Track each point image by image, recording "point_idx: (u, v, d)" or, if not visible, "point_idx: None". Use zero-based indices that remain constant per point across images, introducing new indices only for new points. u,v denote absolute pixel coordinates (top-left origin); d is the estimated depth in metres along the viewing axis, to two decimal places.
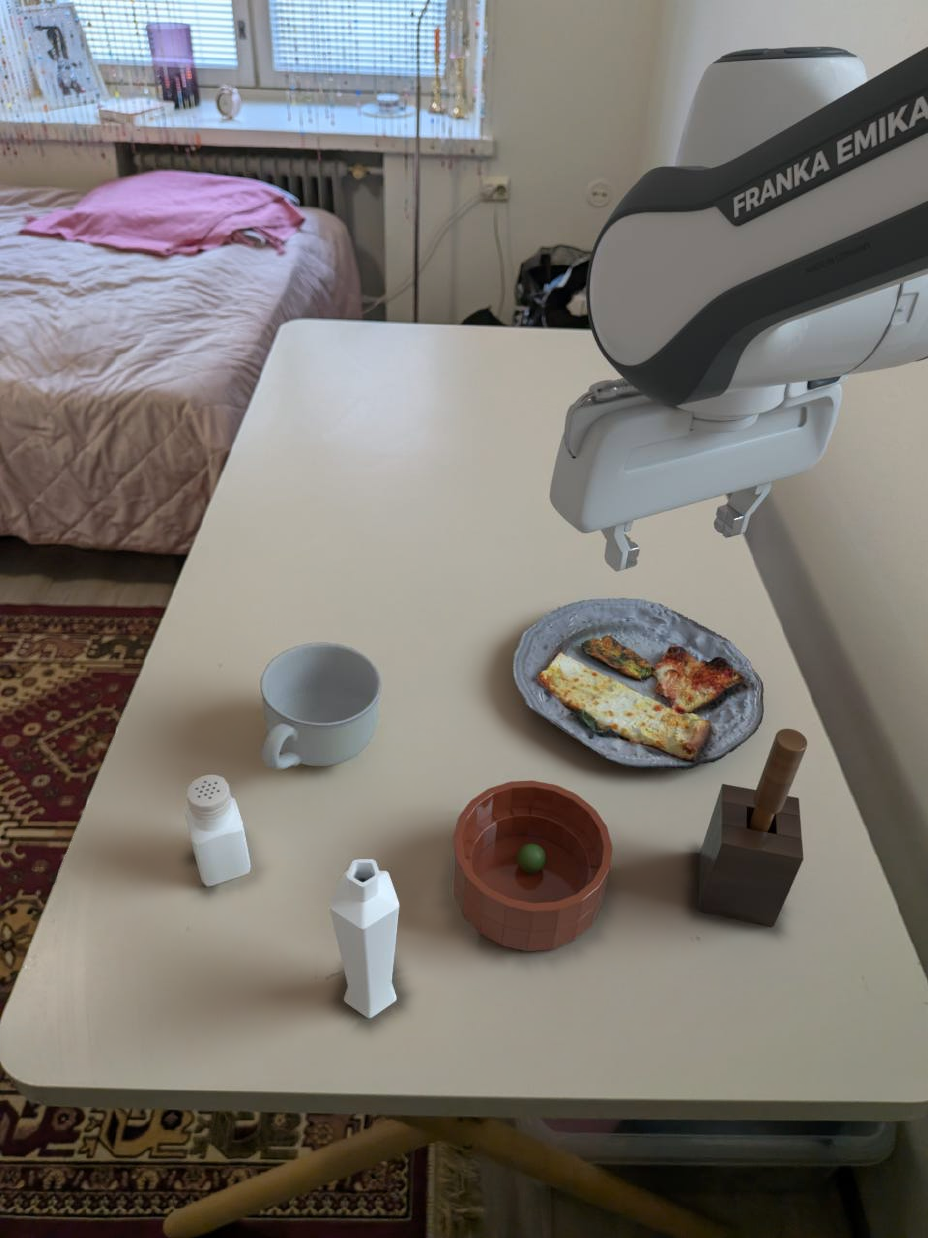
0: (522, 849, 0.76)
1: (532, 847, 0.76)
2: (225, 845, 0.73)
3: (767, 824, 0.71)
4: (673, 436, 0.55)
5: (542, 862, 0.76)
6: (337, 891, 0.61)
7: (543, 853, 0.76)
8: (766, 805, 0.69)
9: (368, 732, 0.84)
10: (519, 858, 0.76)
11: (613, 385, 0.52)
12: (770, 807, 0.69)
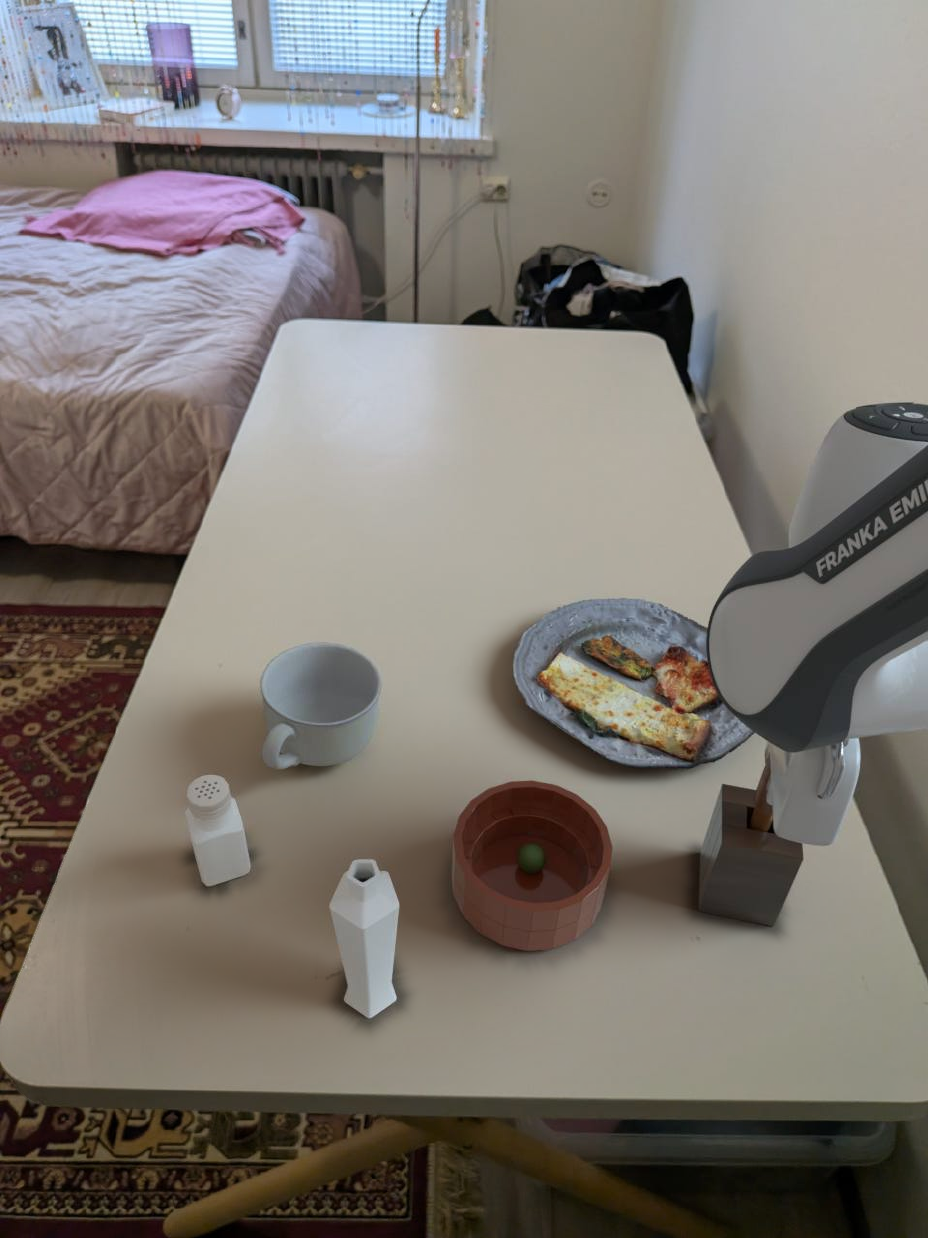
0: (522, 849, 0.76)
1: (532, 847, 0.76)
2: (225, 845, 0.73)
3: (767, 824, 0.71)
4: None
5: (542, 862, 0.76)
6: (337, 891, 0.61)
7: (543, 853, 0.76)
8: (766, 805, 0.69)
9: (368, 732, 0.84)
10: (519, 858, 0.76)
11: None
12: (770, 807, 0.69)
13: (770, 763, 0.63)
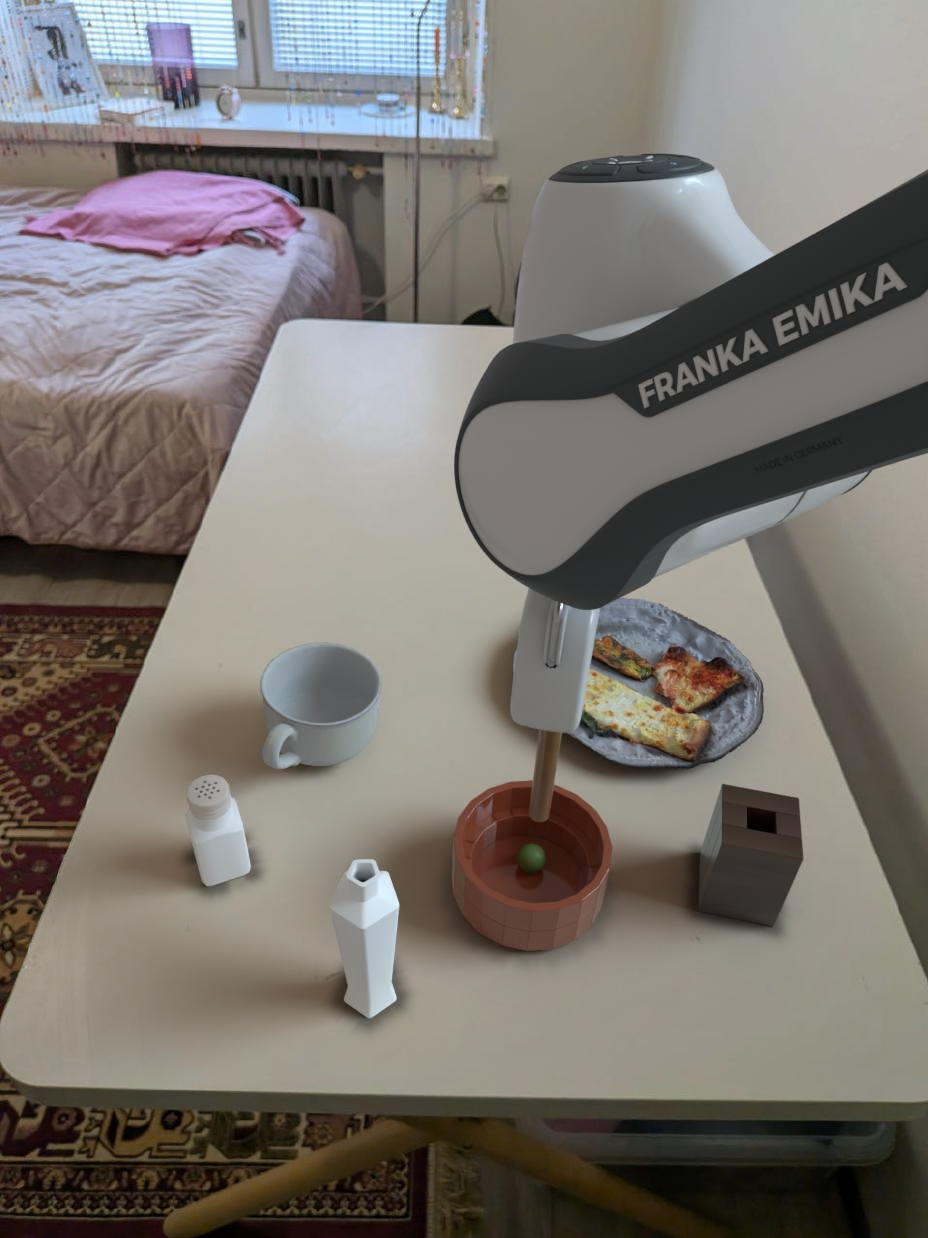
0: (522, 849, 0.76)
1: (532, 847, 0.76)
2: (225, 844, 0.73)
3: None
4: None
5: (542, 862, 0.76)
6: (337, 891, 0.61)
7: (543, 853, 0.76)
8: None
9: (368, 732, 0.84)
10: (519, 858, 0.76)
11: None
12: None
13: None
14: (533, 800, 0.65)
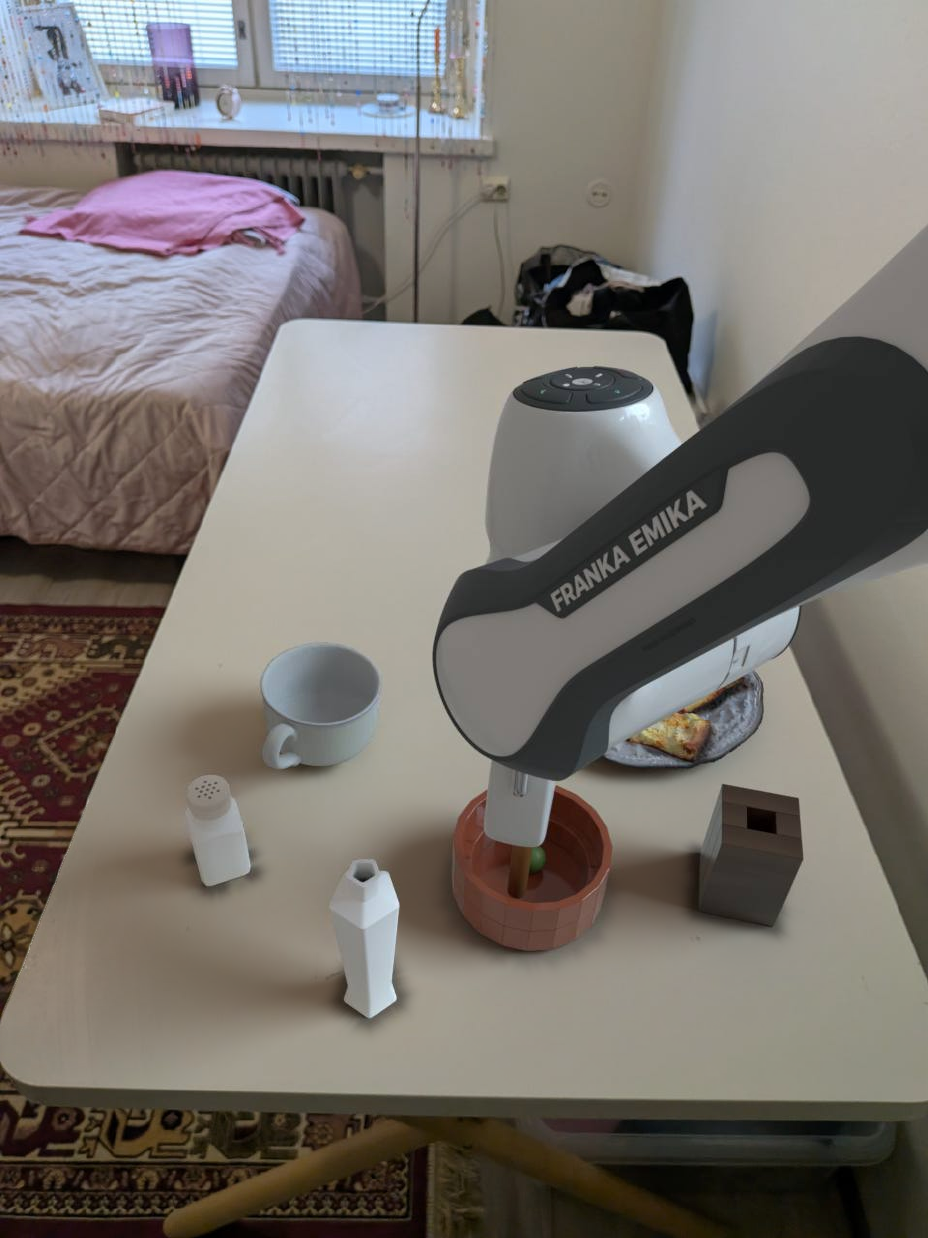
0: None
1: (532, 847, 0.76)
2: (225, 844, 0.73)
3: None
4: None
5: (542, 862, 0.76)
6: (337, 891, 0.61)
7: (543, 853, 0.76)
8: None
9: (368, 732, 0.84)
10: None
11: None
12: None
13: None
14: (511, 880, 0.72)
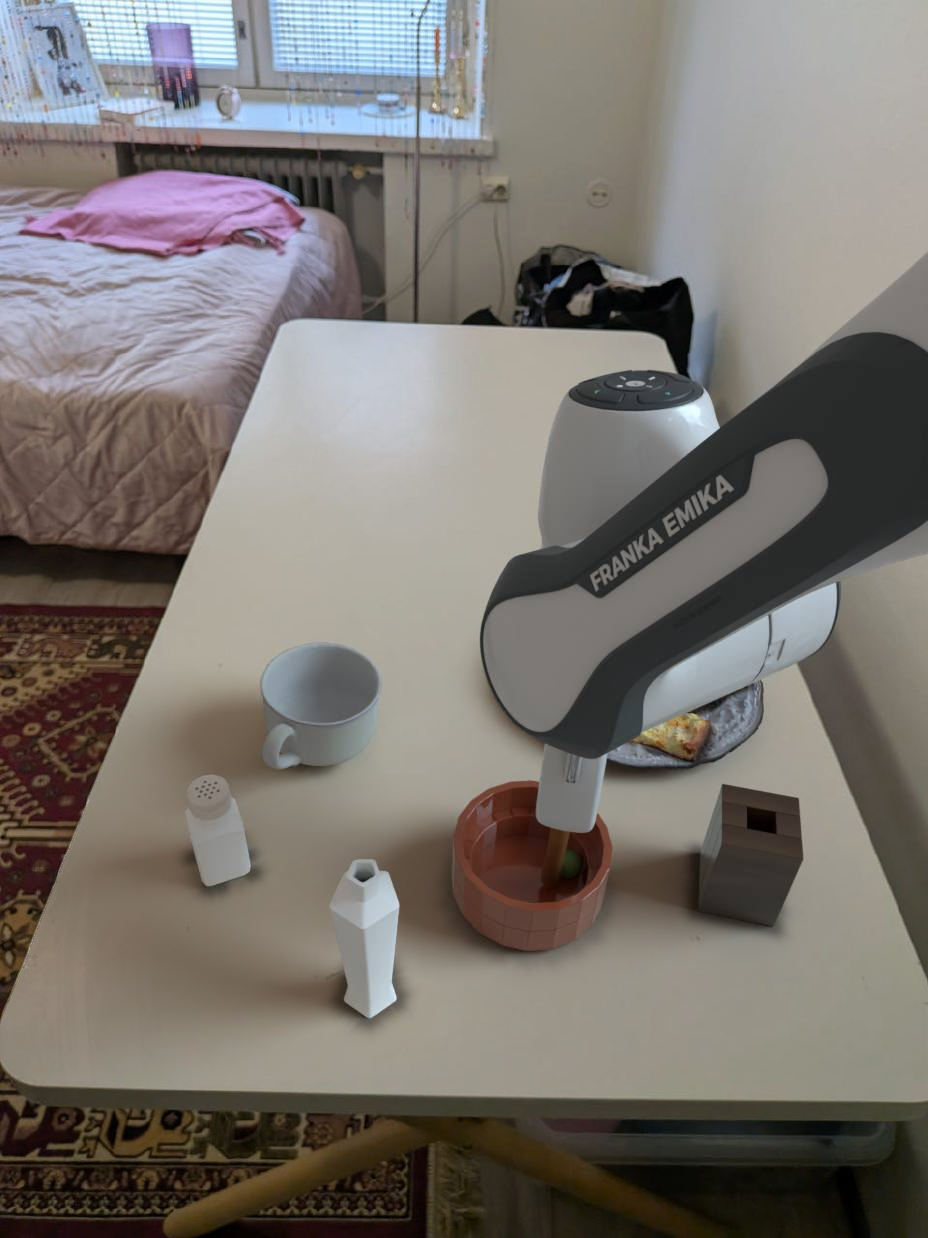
0: None
1: None
2: (225, 844, 0.73)
3: None
4: None
5: None
6: (337, 891, 0.61)
7: None
8: None
9: (368, 732, 0.84)
10: None
11: None
12: None
13: None
14: (545, 869, 0.74)
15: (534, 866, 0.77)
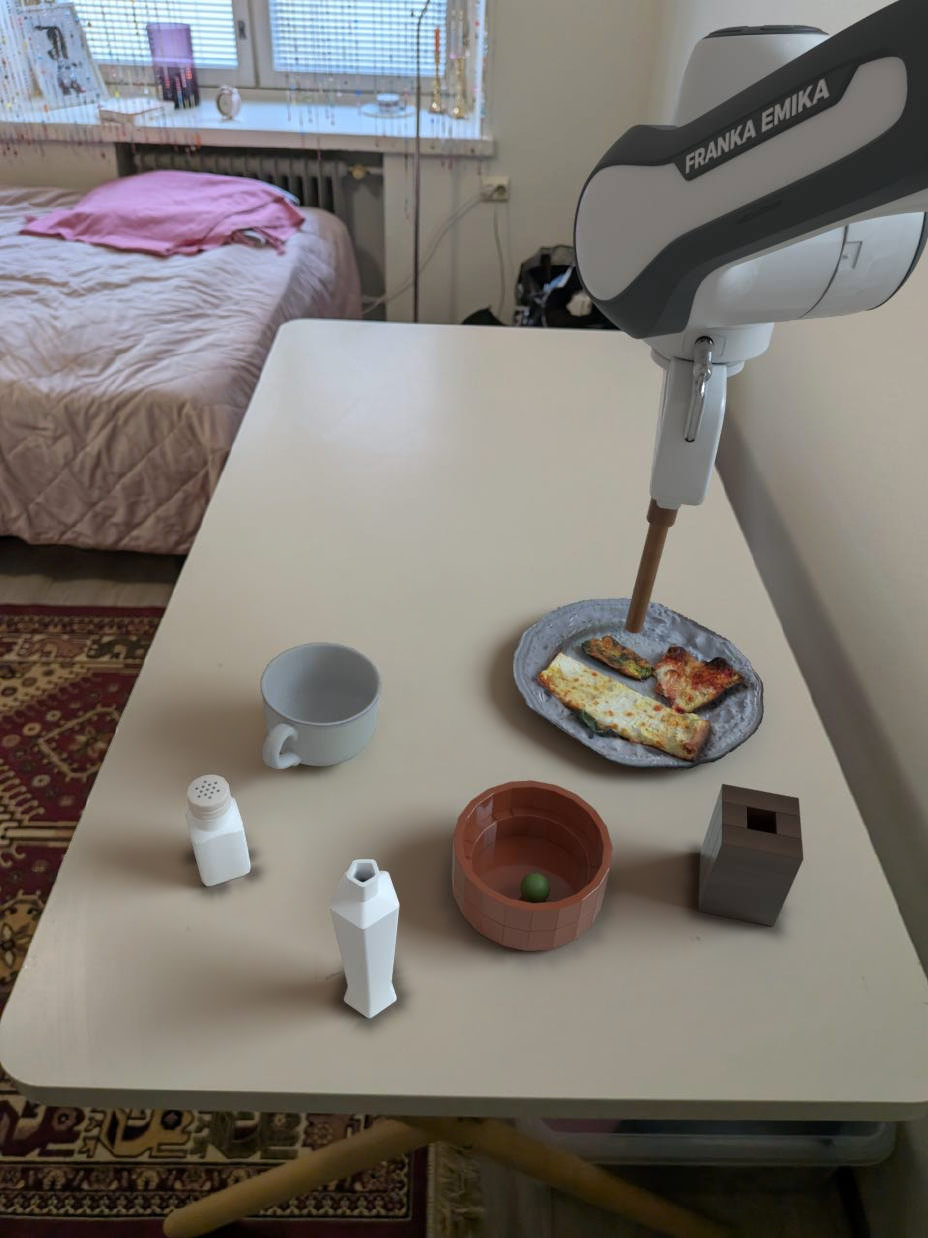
0: (523, 896, 0.74)
1: (525, 888, 0.74)
2: (225, 844, 0.73)
3: (660, 543, 0.72)
4: None
5: (542, 884, 0.73)
6: (337, 891, 0.61)
7: (534, 879, 0.74)
8: (657, 517, 0.70)
9: (368, 732, 0.84)
10: (530, 902, 0.74)
11: (710, 361, 0.55)
12: (661, 519, 0.70)
13: None
14: (631, 612, 0.77)
15: (534, 866, 0.77)
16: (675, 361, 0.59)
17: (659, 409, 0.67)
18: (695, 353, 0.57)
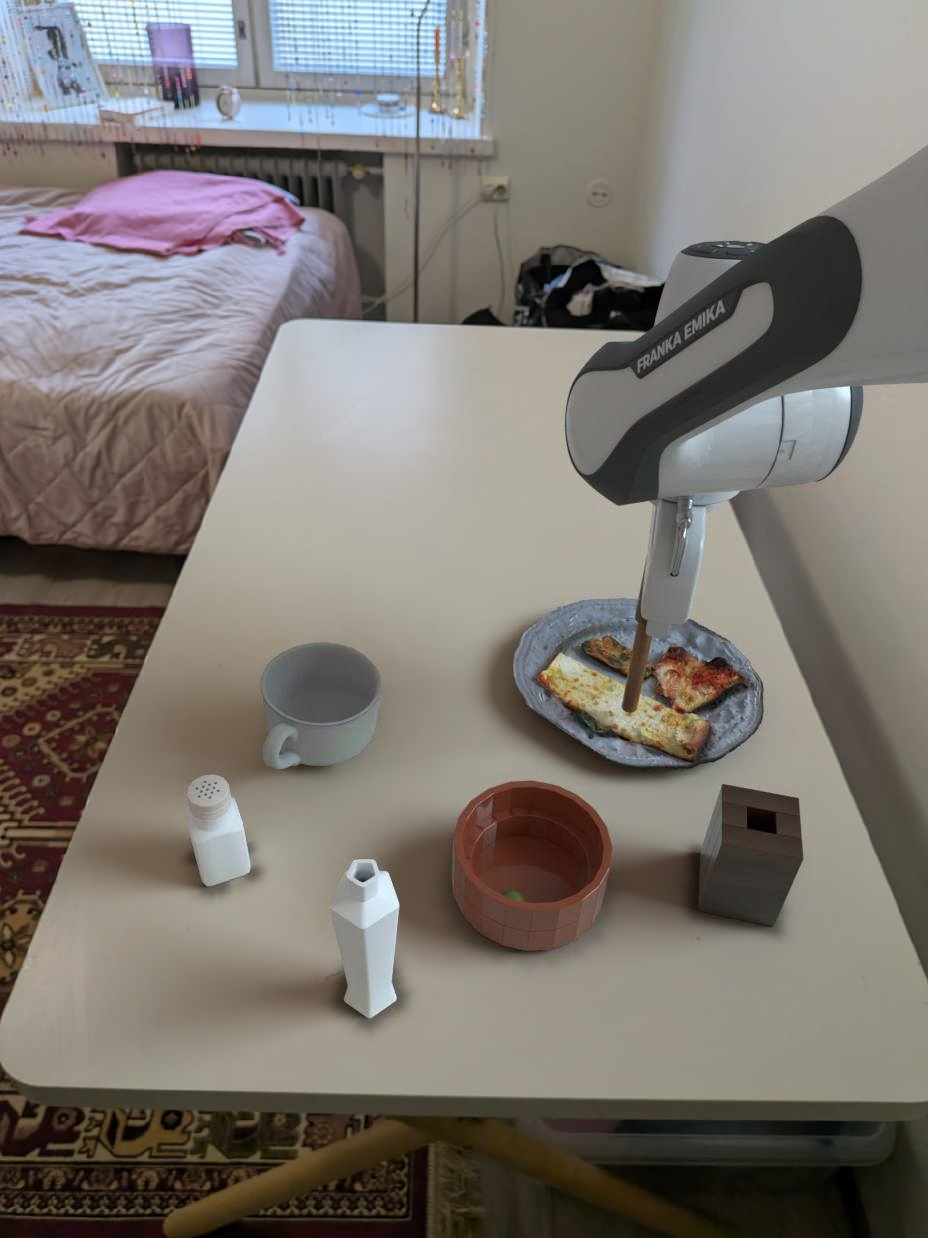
0: None
1: None
2: (225, 844, 0.73)
3: (647, 638, 0.82)
4: None
5: None
6: (337, 891, 0.61)
7: None
8: None
9: (368, 732, 0.84)
10: None
11: (690, 511, 0.66)
12: None
13: None
14: (626, 695, 0.87)
15: (534, 866, 0.77)
16: (662, 502, 0.70)
17: (650, 530, 0.77)
18: (678, 501, 0.67)
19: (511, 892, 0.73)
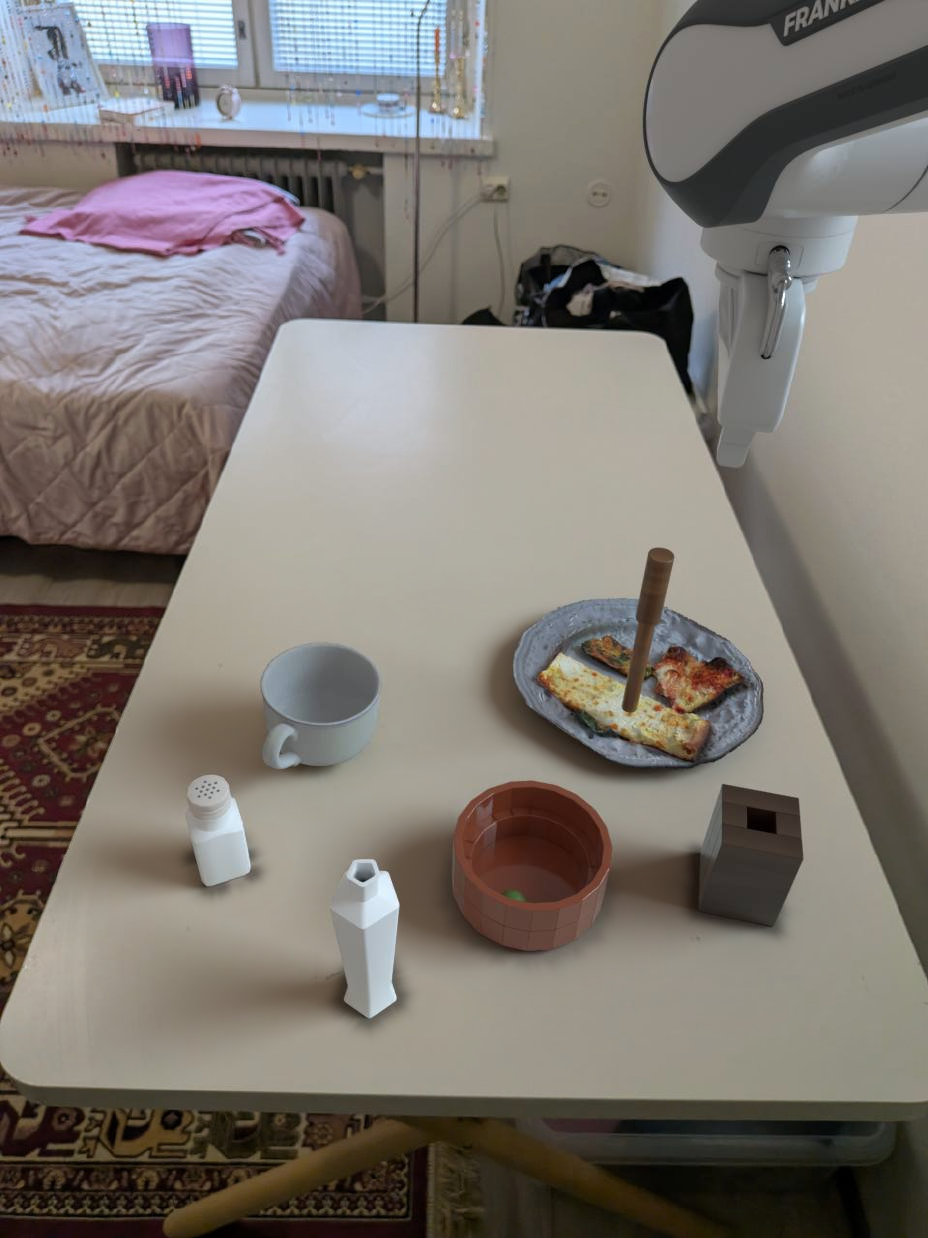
0: None
1: None
2: (225, 844, 0.73)
3: (648, 638, 0.82)
4: None
5: None
6: (337, 891, 0.61)
7: None
8: (644, 618, 0.81)
9: (368, 732, 0.84)
10: None
11: (789, 269, 0.51)
12: (648, 619, 0.80)
13: None
14: (626, 695, 0.87)
15: (534, 866, 0.77)
16: (746, 275, 0.54)
17: (720, 338, 0.62)
18: (771, 262, 0.52)
19: (512, 891, 0.73)
